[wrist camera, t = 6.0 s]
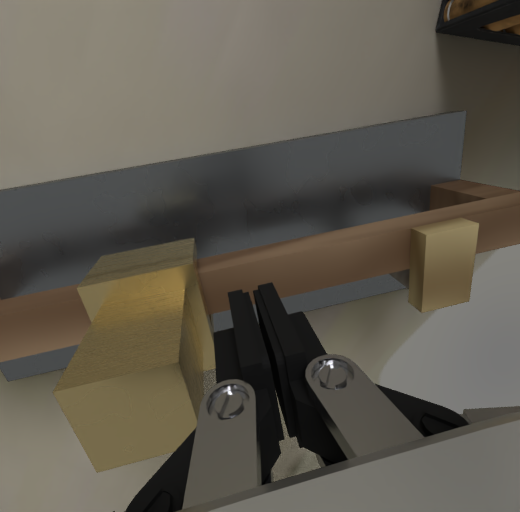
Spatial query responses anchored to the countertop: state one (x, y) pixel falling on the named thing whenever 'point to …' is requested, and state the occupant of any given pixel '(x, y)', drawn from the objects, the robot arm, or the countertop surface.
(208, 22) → the countertop surface
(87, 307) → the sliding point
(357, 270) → the bar
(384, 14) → the countertop surface
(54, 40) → the countertop surface
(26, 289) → the bolt-hole plate
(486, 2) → the ammunition clip
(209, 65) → the countertop surface
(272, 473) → the robot arm
